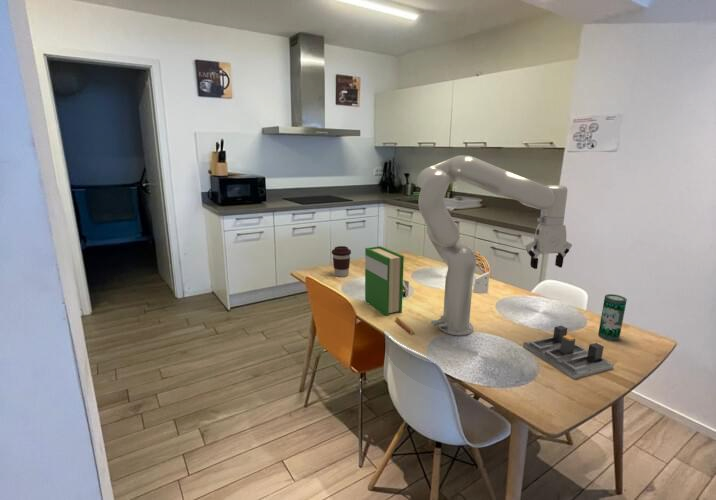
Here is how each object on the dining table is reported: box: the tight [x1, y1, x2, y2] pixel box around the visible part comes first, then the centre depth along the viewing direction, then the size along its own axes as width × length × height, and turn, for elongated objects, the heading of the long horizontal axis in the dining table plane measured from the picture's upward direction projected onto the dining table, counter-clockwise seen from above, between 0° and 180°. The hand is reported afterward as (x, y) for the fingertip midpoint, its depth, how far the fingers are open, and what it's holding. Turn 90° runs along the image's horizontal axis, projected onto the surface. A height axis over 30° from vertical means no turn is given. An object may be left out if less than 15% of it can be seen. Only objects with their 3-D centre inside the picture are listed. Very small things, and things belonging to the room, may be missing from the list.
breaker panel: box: [522, 325, 615, 380], centre depth 123 cm, size 16×20×7 cm
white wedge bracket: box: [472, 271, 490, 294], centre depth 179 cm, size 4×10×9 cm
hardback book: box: [364, 245, 405, 317], centre depth 160 cm, size 18×7×24 cm, turn 28°
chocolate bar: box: [394, 316, 415, 336], centre depth 144 cm, size 3×12×2 cm, turn 22°
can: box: [597, 293, 628, 342], centre depth 135 cm, size 6×6×15 cm
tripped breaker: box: [560, 334, 576, 355], centre depth 122 cm, size 3×2×5 cm
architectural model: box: [402, 279, 410, 298], centre depth 175 cm, size 3×7×7 cm, turn 38°
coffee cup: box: [331, 245, 352, 278], centre depth 201 cm, size 10×10×15 cm
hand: (546, 267), depth 140 cm, fingers open, 9 cm apart
